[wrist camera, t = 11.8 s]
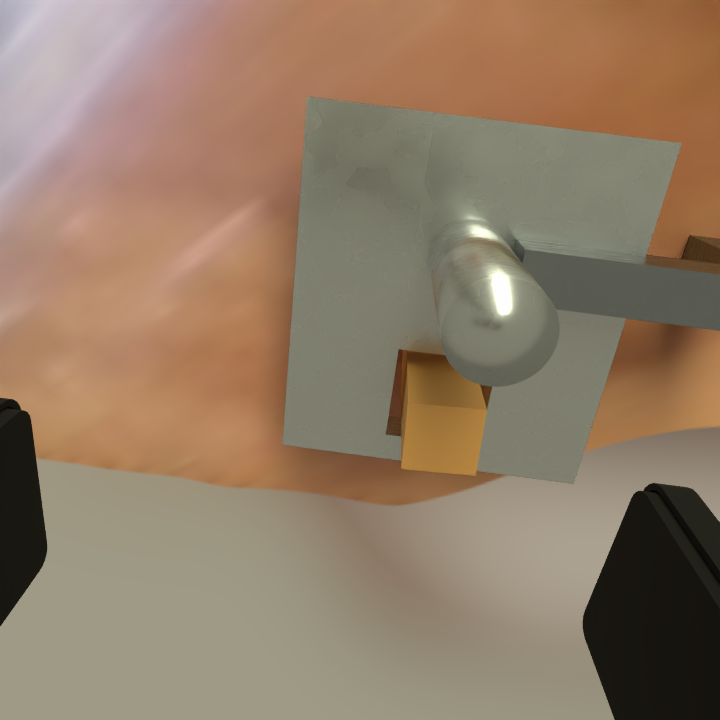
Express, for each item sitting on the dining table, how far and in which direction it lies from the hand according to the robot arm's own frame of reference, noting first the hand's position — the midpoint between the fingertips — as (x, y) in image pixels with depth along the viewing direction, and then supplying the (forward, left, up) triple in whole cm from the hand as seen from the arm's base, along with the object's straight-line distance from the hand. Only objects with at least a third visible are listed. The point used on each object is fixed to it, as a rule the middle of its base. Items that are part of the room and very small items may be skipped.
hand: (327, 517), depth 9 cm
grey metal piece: (+4, -3, -28) cm, 28 cm away
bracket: (+13, 0, -28) cm, 31 cm away
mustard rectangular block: (+4, -8, -28) cm, 29 cm away
